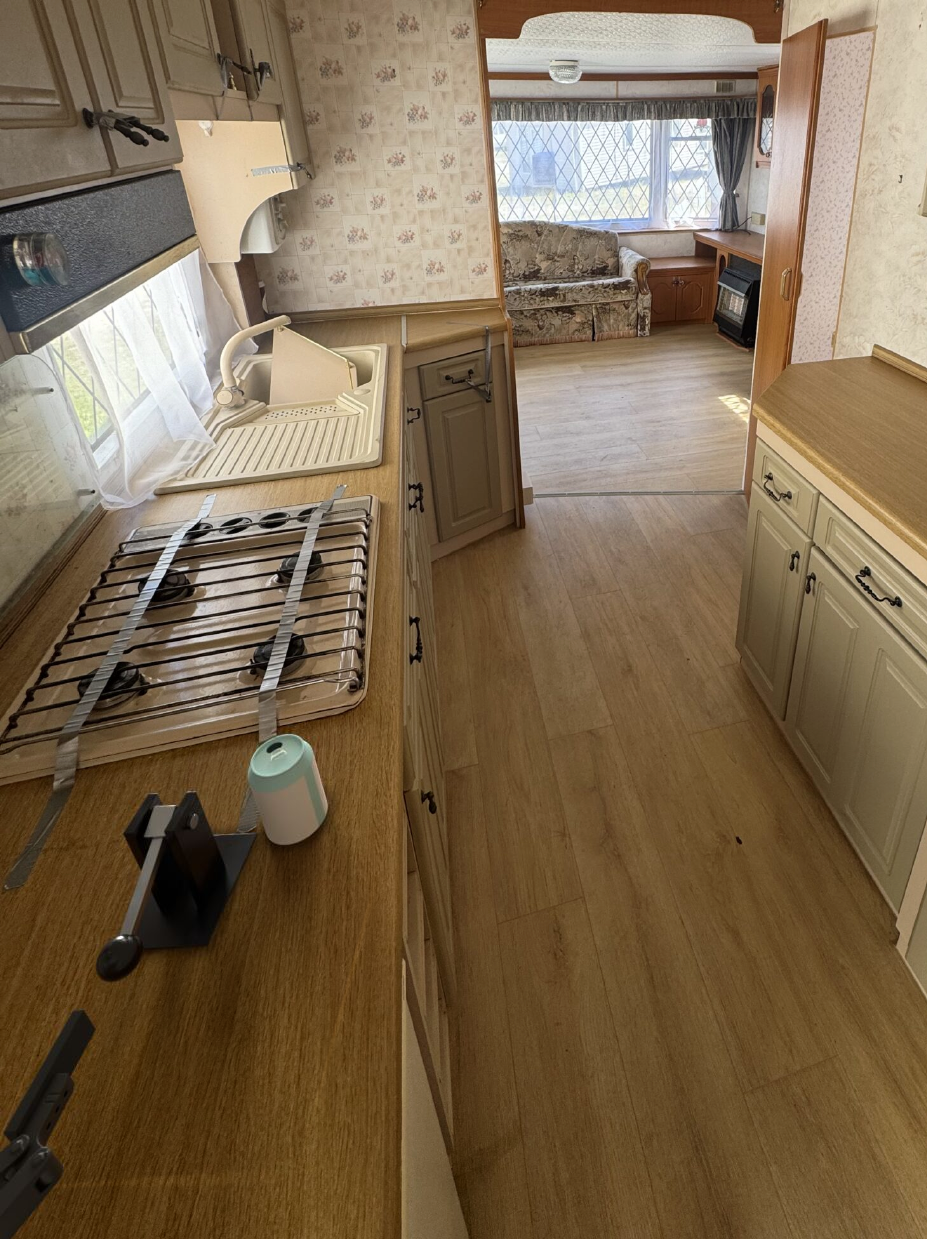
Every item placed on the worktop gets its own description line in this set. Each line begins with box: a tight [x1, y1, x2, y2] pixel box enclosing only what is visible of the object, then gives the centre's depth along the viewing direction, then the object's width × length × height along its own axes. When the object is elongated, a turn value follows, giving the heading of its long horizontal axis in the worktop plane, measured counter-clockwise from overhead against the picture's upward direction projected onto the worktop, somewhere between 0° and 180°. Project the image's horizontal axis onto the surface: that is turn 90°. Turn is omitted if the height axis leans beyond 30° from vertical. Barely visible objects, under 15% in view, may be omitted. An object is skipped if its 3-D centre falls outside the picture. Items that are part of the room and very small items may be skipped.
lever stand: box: [122, 791, 259, 950], centre depth 71 cm, size 12×9×14 cm
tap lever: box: [95, 804, 179, 983], centre depth 65 cm, size 14×4×4 cm, turn 3°
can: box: [247, 733, 329, 846], centre depth 79 cm, size 7×7×12 cm
